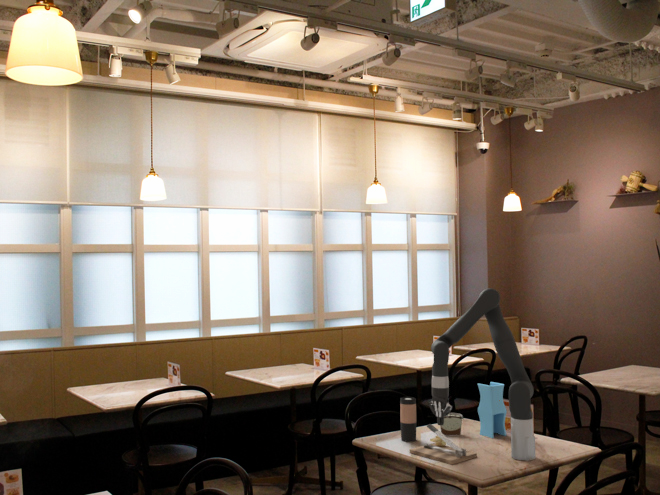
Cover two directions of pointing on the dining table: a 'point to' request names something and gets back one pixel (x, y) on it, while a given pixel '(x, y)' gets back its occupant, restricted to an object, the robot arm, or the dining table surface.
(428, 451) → the wooden board with rail
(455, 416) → the food container
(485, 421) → the light blue flared block
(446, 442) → the tongs upper arm
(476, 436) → the dining table surface
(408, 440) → the travel mug
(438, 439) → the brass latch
